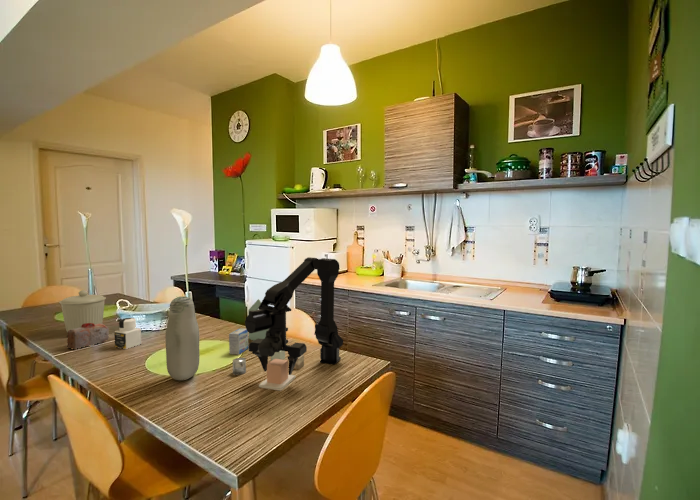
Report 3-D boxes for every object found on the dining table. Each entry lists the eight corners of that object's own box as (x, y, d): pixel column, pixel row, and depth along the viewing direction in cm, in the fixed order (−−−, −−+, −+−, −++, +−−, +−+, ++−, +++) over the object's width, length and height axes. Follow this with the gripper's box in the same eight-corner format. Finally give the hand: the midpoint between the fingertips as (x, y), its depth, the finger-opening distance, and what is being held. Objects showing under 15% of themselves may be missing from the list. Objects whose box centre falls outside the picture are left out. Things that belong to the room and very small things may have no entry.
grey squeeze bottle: (168, 375, 118) (166, 295, 116) (200, 370, 122) (198, 293, 120) (165, 387, 109) (162, 300, 107) (199, 381, 113) (198, 298, 111)
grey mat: (295, 377, 116) (295, 375, 116) (281, 390, 106) (281, 388, 106) (274, 374, 118) (274, 372, 118) (258, 387, 109) (258, 384, 109)
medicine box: (239, 355, 137) (238, 334, 136) (228, 354, 138) (228, 333, 137) (248, 348, 145) (248, 328, 144) (239, 347, 146) (238, 328, 145)
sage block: (285, 358, 134) (285, 348, 133) (280, 362, 130) (280, 351, 130) (276, 357, 135) (276, 347, 135) (270, 360, 131) (270, 350, 131)
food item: (100, 339, 157) (99, 318, 156) (110, 341, 153) (110, 320, 153) (65, 348, 144) (64, 325, 144) (76, 351, 141) (75, 328, 140)
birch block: (303, 365, 127) (303, 354, 127) (299, 369, 123) (299, 358, 123) (294, 364, 128) (294, 353, 128) (289, 368, 124) (289, 357, 124)
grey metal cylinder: (248, 370, 122) (248, 358, 121) (241, 375, 117) (240, 363, 117) (237, 369, 123) (237, 357, 123) (230, 374, 119) (230, 361, 118)
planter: (284, 342, 153) (283, 299, 152) (269, 346, 147) (269, 301, 146) (262, 334, 164) (262, 294, 163) (248, 338, 158) (247, 296, 157)
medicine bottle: (114, 347, 146) (113, 319, 145) (130, 342, 152) (129, 316, 152) (125, 349, 143) (124, 321, 142) (141, 344, 149) (140, 317, 149)
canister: (85, 326, 177) (83, 286, 176) (116, 328, 174) (114, 287, 173) (50, 337, 159) (48, 293, 158) (84, 339, 156) (82, 294, 155)
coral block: (288, 377, 114) (287, 360, 113) (280, 384, 109) (280, 365, 109) (274, 375, 115) (274, 358, 115) (267, 382, 111) (266, 364, 110)
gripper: (237, 330, 106) (238, 379, 107) (291, 336, 101) (291, 387, 102) (257, 321, 117) (258, 365, 118) (307, 326, 111) (307, 372, 112)
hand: (277, 372), depth 112 cm, fingers open, 9 cm apart
